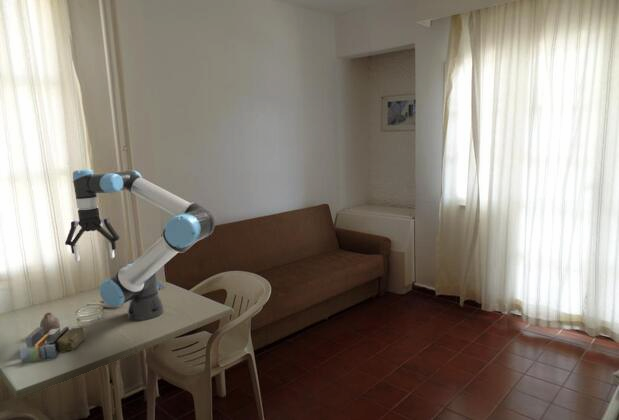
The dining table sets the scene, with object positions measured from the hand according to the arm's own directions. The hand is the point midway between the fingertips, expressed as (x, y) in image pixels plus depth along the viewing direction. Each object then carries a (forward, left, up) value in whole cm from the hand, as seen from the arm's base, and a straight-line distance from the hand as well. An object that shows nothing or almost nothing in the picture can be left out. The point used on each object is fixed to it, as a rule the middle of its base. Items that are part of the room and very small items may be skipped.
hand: (95, 259), depth 176 cm
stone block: (+7, +16, -29) cm, 34 cm away
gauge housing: (+14, +20, -29) cm, 38 cm away
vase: (+20, +3, -29) cm, 35 cm away
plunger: (+12, +19, -28) cm, 36 cm away
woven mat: (-10, -43, -29) cm, 53 cm away
